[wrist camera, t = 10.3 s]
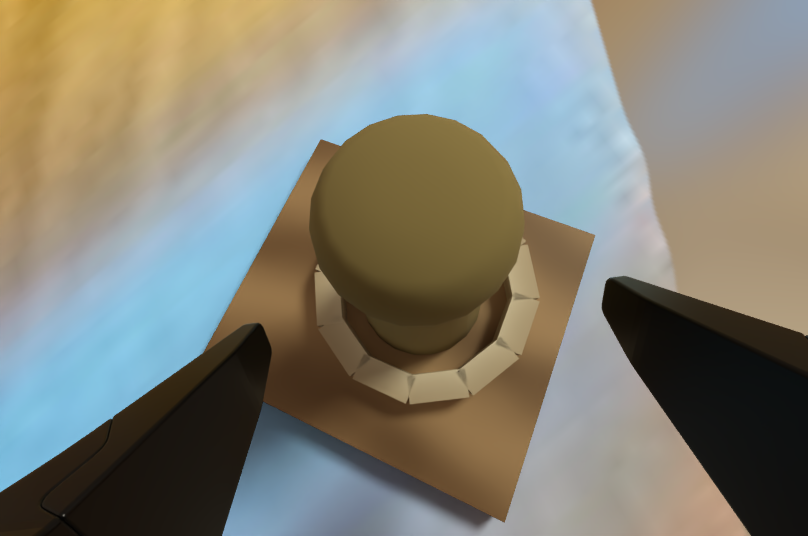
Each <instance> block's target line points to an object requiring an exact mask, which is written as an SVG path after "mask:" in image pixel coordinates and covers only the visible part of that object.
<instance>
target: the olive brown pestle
mask: <svg viewBox="0 0 808 536" xmlns="http://www.w3.org/2000/svg"><path fill="white" fill-rule="evenodd" d="M524 224H525V220H524V211H523V202H522V193H521V188H520V186H519V184H518V182H517V180H516V178H515V176H514V174H513V172H512V170H511V167H510V165H509V163H508V161H507V160H506V159H505V158H504V157H503V156H502V155H501V154H500V153H499V152H498V151H497V150H496V149H495V148H494V147H493V146H492V145H491V144H490V143H489V142H488V141H487V140H486V139H485V138H484V137H483V136H482V135H481V134H479V133H478V132H476V131H474V130H472V129H470V128H468V127H467V126H465V125H463V124H461V123H459V122H457V121H456V120H451V119H447V118H442V117H437V116H433V115H428V114H420V115H402V116H395V117H392V118H389V119H386V120H383V121H380V122H377V123H374V124H371V125H369V126H367V127H366V128H364V129H363V130H361V131H360V132H358V133H357V134H355V135H354V136H352V137H351V138H349V139H348V140H346V141H345V142H344V143H343V145H342V146H341V147H340V148H339V149H338V151H337V152H336V153H335V154H334V155H333V157H332V158H331V159H330V160H329V161H328V163H327V164H326V165H325V167H324V168H323V170H322V172H321V175H320V177H319V179H318V182H317V184H316V187H315V189H314V192H313V194H312V197H311V204H310V220H309V231H310V236H311V240H312V244H313V247H314V251H315V254H316V258H317V261H318V265H319V268H320V270H321V271H322V272H323V274H324V275H325V277H326V278H327V280H328V281H329V282H330V284H331V285H332V287H333V288H334V290H335V291H336V292H337V294H338V295H339V296H341V297H342V298H343V299H345V300H346V301H348V302H349V303H350V304H352V305H353V306H355V307H356V308H357V309H359V310H360V311H362V312H363V313H364V314H366V317H367V320H368V323H369V324H370V326H371V327H372V328H373V330H374V331H375V333H376V334H377V335H378V337H379V338H380V339H382V340H383V341H385V342H386V343H387V344H389V345H390V346H391V347H393V348H394V349H397V350H400V351H403V352H406V353H409V354H412V355H428V354H435V353H438V352H441V351H444V350H447V349H450V348H452V347H453V346H454V345H456V344H457V343H458V342H459V341H461V340H462V339H463V338H465V337H466V336H467V334H468V333H469V331H470V330H471V328H472V327H473V325H474V324H475V322H476V321H477V318H478V314H479V310H480V306H481V304H482V303H484V302H485V301H486V300H488V299H489V298H490V297H491V296H493V295H494V294H495V293H496V292H497V291H498V290H499V288H500V287H501V285H502V284H503V282H504V281H505V279H506V278H507V276H508V275H509V273H510V272H511V270H512V268H513V267H514V265H515V264H516V262H517V258H518V254H519V250H520V246H521V242H522V237H523V233H524Z"/></svg>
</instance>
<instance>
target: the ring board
mask: <svg viewBox="0 0 808 536" xmlns="http://www.w3.org/2000/svg"><path fill="white" fill-rule="evenodd" d="M340 147H341V146H339V145H336V144H333V143H330V142H327V141H324V140H320V142H319V144H318V145H317V147H316V149H315V151H314V153H313V154H312V156H311V158H310V160H309V162H308V163H307V165H306V167H305V169H304V171H303V173H302V174H301V176H300V178H299V180H298V182H297V183H296V185H295V187H294V189H293V191H292V193H291V194H290V196H289V198H288V200H287V202H286V203H285V205H284V207H283V209H282V211H281V213H280V214H279V216H278V218H277V220H276V222H275V223H274V225H273V227H272V229H271V231H270V233H269V234H268V236H267V238H266V240H265V242H264V243H263V245H262V247H261V249H260V251H259V253H258V254H257V256H256V258H255V260H254V262H253V263H252V265H251V267H250V269H249V271H248V273H247V274H246V276H245V278H244V280H243V282H242V283H241V285H240V287H239V289H238V291H237V293H236V294H235V296H234V298H233V300H232V302H231V303H230V305H229V307H228V309H227V311H226V312H225V314H224V316H223V318H222V320H221V322H220V323H219V325H218V327H217V329H216V331H215V332H214V334H213V336H212V338H211V340H210V342H209V343H208V345H207V347H206V349H205V351H204V352H206V351H207V350H208V349H210V348H211V347H213V346H214V345H215V344H217V343H218V342H220V341H221V340H223V339H224V338H225V337H227V336H228V335H230V334H231V333H232V332H234V331H235V330H237V329H238V328H240V327H241V326H242V325H244V324H250V323H260V324H262V326H263V327H264V330H265V332H266V335H267V337H268V340H269V342H270V345H271V348H272V356H271V362H270V367H269V372H268V377H267V383H266V388H265V393H264V399H263V402H265V403H267V404H269V405H271V406H273V407H275V408H277V409H279V410H281V411H283V412H285V413H287V414H289V415H291V416H293V417H295V418H297V419H299V420H301V421H303V422H305V423H307V424H309V425H311V426H313V427H315V428H317V429H319V430H321V431H323V432H325V433H327V434H329V435H331V436H333V437H335V438H337V439H339V440H341V441H343V442H345V443H347V444H349V445H351V446H353V447H355V448H357V449H359V450H361V451H363V452H365V453H367V454H369V455H371V456H373V457H375V458H377V459H379V460H381V461H383V462H385V463H387V464H389V465H391V466H393V467H395V468H397V469H399V470H401V471H403V472H405V473H407V474H409V475H411V476H413V477H415V478H417V479H419V480H421V481H423V482H425V483H427V484H429V485H431V486H433V487H435V488H437V489H439V490H441V491H443V492H445V493H447V494H449V495H451V496H453V497H455V498H457V499H459V500H461V501H463V502H465V503H467V504H469V505H471V506H473V507H475V508H477V509H479V510H481V511H483V512H485V513H487V514H488V515H490V516H492V517H494V518H496V519H498V520H500V521H502V522H504V523H505V520H506V516H507V513H508V510H509V507H510V504H511V501H512V497H513V494H514V491H515V488H516V485H517V482H518V478H519V475H520V472H521V469H522V466H523V463H524V459H525V456H526V453H527V450H528V447H529V443H530V440H531V437H532V434H533V431H534V428H535V424H536V421H537V418H538V415H539V412H540V409H541V405H542V402H543V399H544V396H545V393H546V390H547V386H548V383H549V380H550V377H551V374H552V371H553V367H554V364H555V361H556V358H557V355H558V352H559V348H560V345H561V342H562V339H563V336H564V333H565V329H566V326H567V323H568V320H569V317H570V314H571V310H572V307H573V304H574V301H575V298H576V295H577V291H578V288H579V285H580V282H581V279H582V276H583V272H584V269H585V266H586V263H587V260H588V257H589V253H590V250H591V247H592V244H593V241H594V237H595V235H593V234H590V233H588V232H585V231H582V230H579V229H576V228H573V227H570V226H568V225H565V224H562V223H559V222H556V221H553V220H550V219H548V218H545V217H542V216H539V215H536V214H533V213H530V212H527V211H525V210H523V211H524V220H525V224H524V233H523V237H522V242H521V246H520V250H519V254H518V258H517V262H516V264H515V265H514V267H513V268H512V270H511V272H510V273H509V275H508V276H507V278H506V279H505V281H504V282H503V284H502V285H501V287H500V288H499V290H498V291H497V292H496V293H495V294H494V295H493V296H491V297H490V298H489V299H488V300H486V301H485V302H484V303H482V304H481V306H480V310H479V314H478V318H477V321H476V322H475V324H474V325H473V327H472V328H471V330H470V331H469V333H468V334H467V336H466V337H465V338H463V339H462V340H461V341H459V342H458V343H457V344H456V345H454V346H453V347H452V348H450V349H447V350H444V351H441V352H438V353H435V354H428V355H412V354H409V353H406V352H403V351H400V350H397V349H394V348H393V347H391V346H390V345H389V344H387V343H386V342H385V341H383V340H382V339H380V338H379V337H378V335H377V334H376V333H375V331H374V330H373V328H372V327H371V326H370V324H369V323H368V320H367V317H366V314H364V313H363V312H362V311H360V310H359V309H357V308H356V307H355V306H353V305H352V304H350V303H349V302H348V301H346V300H345V299H343V298H342V297H341V296H339V295H338V294H337V292H336V291H335V290H334V288H333V287H332V285H331V284H330V282H329V281H328V280H327V278H326V277H325V275H324V274H323V272H322V271H321V270H320V268H319V265H318V261H317V258H316V254H315V251H314V247H313V244H312V240H311V236H310V231H309V220H310V204H311V197H312V194H313V192H314V189H315V187H316V184H317V182H318V179H319V177H320V175H321V172H322V170H323V168H324V167H325V165H326V164H327V163H328V161H329V160H330V159H331V158H332V157H333V155H334V154H335V153H336V152H337V151H338V149H339V148H340ZM204 352H203V353H204Z"/></svg>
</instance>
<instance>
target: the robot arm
mask: <svg viewBox="0 0 808 536" xmlns="http://www.w3.org/2000/svg"><path fill="white" fill-rule="evenodd" d="M602 311H603V314H604V316H605V318H606V319H607V321H608V323H609V325H610V327H611V329H612V330H613V332H614V334H615V336H616V338H617V340H618V341H619V343H620V345H621V347H622V349H623V351H624V352H625V354H626V356H627V358H628V359H629V361H630V363H631V364H632V366H633V367H634V369H635V370H636V372H637V373H638V375H639V376H640V378H641V379H642V380H643V382H644V383H645V385H646V386H647V388H648V389H649V390H650V392H651V393H652V395H653V396H654V398H655V399H656V400H657V402H658V403H659V405H660V406H661V408H662V409H663V410H664V412H665V413H666V415H667V416H668V418H669V419H670V420H671V422H672V423H673V425H674V426H675V428H676V429H677V430H678V432H679V433H680V435H681V436H682V438H683V439H684V441H685V442H686V443H687V445H688V446H689V448H690V449H691V451H692V452H693V453H694V455H695V456H696V458H697V459H698V461H699V462H700V463H701V465H702V466H703V468H704V469H705V471H706V472H707V473H708V475H709V476H710V478H711V479H712V481H713V482H714V483H715V485H716V486H717V488H718V489H719V491H720V492H721V493H722V495H723V496H724V498H725V499H726V501H727V502H728V503H729V505H730V506H731V508H732V509H733V511H734V512H735V513H736V515H737V516H738V518H739V519H740V521H741V522H742V524H743V525H744V526H745V528H746V529H747V531H748V532H749V534H750V535H751V536H808V335H806V336H804V335H803V334H802V333H800V332H796V331H793V330H791V329H787V328H784V327H781V326H778V325H775V324H772V323H769V322H766V321H763V320H760V319H757V318H754V317H750V316H747V315H744V314H741V313H738V312H735V311H732V310H729V309H725V308H723V307H719V306H717V305H713V304H710V303H707V302H704V301H701V300H698V299H695V298H692V297H689V296H685V295H682V294H680V293H677V292H673V291H670V290H667V289H664V288H661V287H658V286H655V285H652V284H649V283H646V282H643V281H640V280H636V279H633V278H630V277H627V276H620V277H612V278H609V279H608V280H607V281H606V284H605V289H604V295H603V300H602ZM271 356H272V348H271V345H270V342H269V340H268V337H267V335H266V332H265V330H264V327H263V326H262V324H260V323H250V324H244V325H242V326H241V327H240V328H238V329H237V330H235V331H234V332H232V333H231V334H230V335H228V336H227V337H225V338H224V339H223V340H221V341H220V342H218V343H217V344H215V345H214V346H213V347H211V348H210V349H208V350H207V351H206V352H204V353H203V354H201V355H200V356H198V357H197V358H196V359H194V360H193V361H191V362H190V363H189V364H187V365H186V366H184V367H183V368H181V369H180V370H179V371H177V372H176V373H174V374H173V375H172V376H170V377H169V378H167V379H166V380H164V381H163V382H162V383H160V384H159V385H157V386H156V387H155V388H153V389H152V390H150V391H149V392H147V393H146V394H145V395H143V396H142V397H140V398H139V399H138V400H136V401H135V402H133V403H132V404H131V405H129V406H128V407H126V408H125V409H123V410H122V411H121V412H119V413H118V414H116V415H115V416H114V417H113V419H109V420H108V421H106V422H105V423H103V424H102V425H101V426H99V427H98V428H96V429H95V430H94V431H92V432H91V433H89V434H88V435H86V436H85V437H83V438H82V439H81V440H79V441H78V442H76V443H75V444H73V445H72V446H70V447H69V448H67V449H66V450H65V451H63V452H62V453H60V454H59V455H57V456H56V457H54V458H52V459H51V460H49V461H48V462H46V463H45V464H43V465H42V466H40V467H39V468H37V469H36V470H34V471H33V472H31V473H30V474H28V475H27V476H25V477H23V478H22V479H20V480H19V481H17V482H16V483H14V484H13V485H11V486H9V487H8V488H6V489H5V490H3V491H2V492H0V536H222V534H223V531H224V527H225V524H226V521H227V518H228V515H229V511H230V508H231V505H232V502H233V498H234V495H235V492H236V489H237V486H238V482H239V479H240V476H241V473H242V469H243V466H244V463H245V460H246V457H247V453H248V450H249V447H250V444H251V440H252V437H253V434H254V431H255V428H256V424H257V421H258V418H259V415H260V411H261V407H262V403H263V399H264V393H265V388H266V383H267V377H268V372H269V367H270V362H271Z"/></svg>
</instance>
